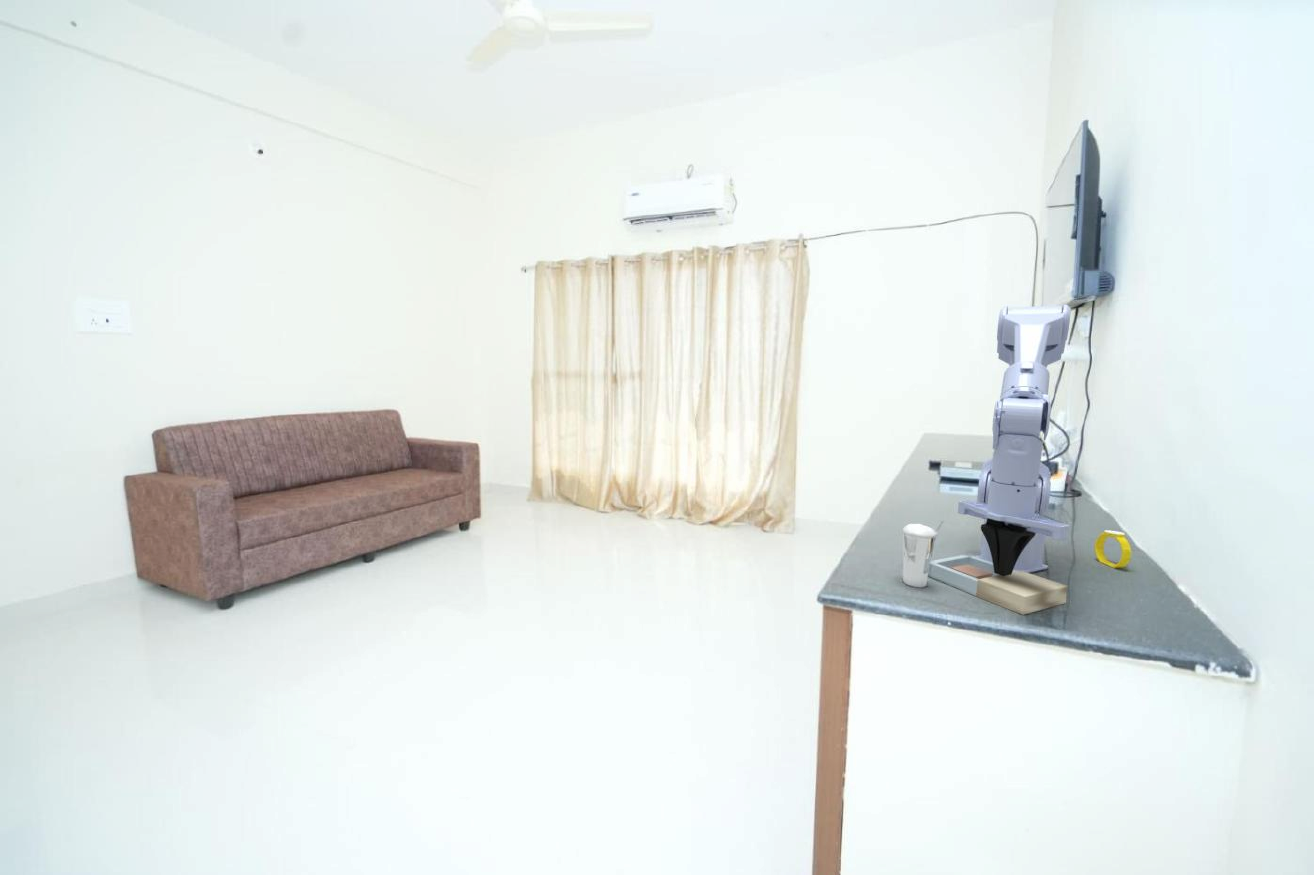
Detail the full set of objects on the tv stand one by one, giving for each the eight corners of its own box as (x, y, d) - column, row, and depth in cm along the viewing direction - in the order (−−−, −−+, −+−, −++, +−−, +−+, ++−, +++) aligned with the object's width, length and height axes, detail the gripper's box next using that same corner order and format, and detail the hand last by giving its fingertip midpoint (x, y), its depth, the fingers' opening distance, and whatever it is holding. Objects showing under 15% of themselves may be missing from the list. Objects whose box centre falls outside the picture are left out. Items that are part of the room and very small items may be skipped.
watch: (1089, 560, 97) (1091, 527, 96) (1104, 561, 97) (1107, 528, 96) (1117, 570, 91) (1120, 535, 90) (1134, 571, 91) (1137, 536, 90)
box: (966, 567, 90) (967, 554, 90) (1018, 586, 83) (1020, 572, 82) (924, 575, 86) (925, 561, 86) (976, 596, 78) (977, 581, 78)
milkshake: (941, 591, 80) (948, 525, 78) (902, 587, 81) (908, 522, 79) (932, 579, 84) (938, 517, 83) (895, 576, 85) (900, 514, 84)
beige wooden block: (1018, 586, 83) (1020, 570, 82) (1065, 603, 77) (1067, 586, 77) (976, 596, 78) (977, 579, 78) (1022, 614, 73) (1024, 597, 72)
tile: (992, 573, 83) (991, 582, 83) (968, 564, 86) (967, 573, 87) (975, 576, 81) (974, 586, 81) (951, 567, 85) (950, 576, 85)
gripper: (948, 474, 82) (939, 560, 84) (1052, 495, 69) (1039, 597, 71) (978, 471, 85) (969, 555, 87) (1083, 491, 73) (1070, 589, 74)
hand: (1002, 573), depth 79 cm, fingers closed
